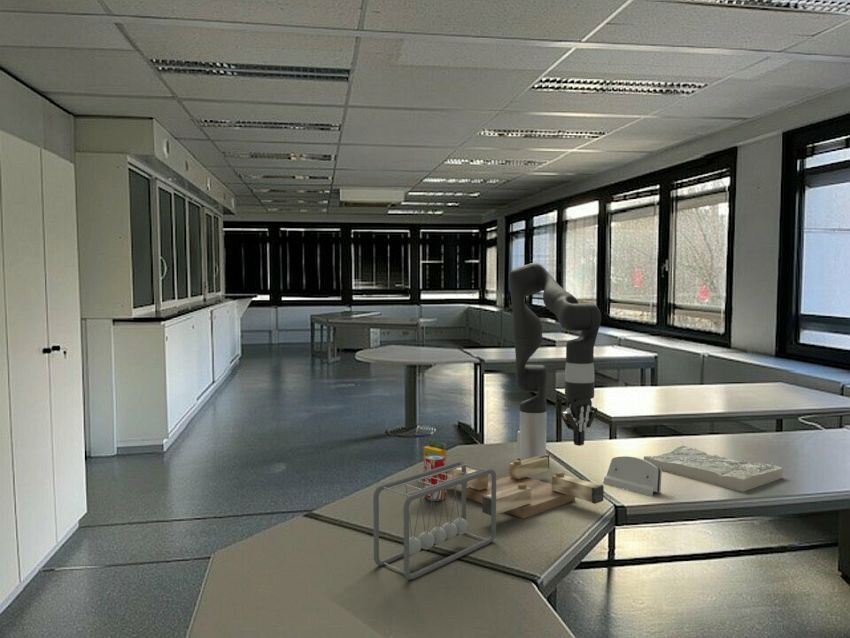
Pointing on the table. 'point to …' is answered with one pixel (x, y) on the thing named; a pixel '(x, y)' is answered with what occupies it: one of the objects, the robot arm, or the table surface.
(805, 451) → the table surface
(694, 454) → the topographic model
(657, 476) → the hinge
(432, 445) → the crayon box
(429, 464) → the soda can
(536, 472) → the stool seat
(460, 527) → the newton's cradle
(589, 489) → the stool leg
